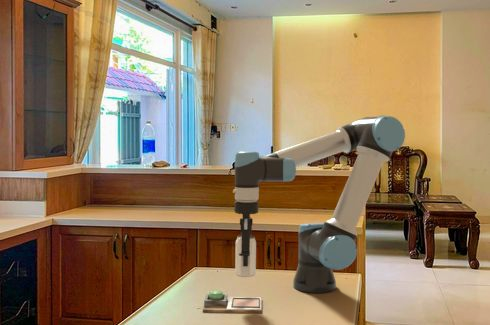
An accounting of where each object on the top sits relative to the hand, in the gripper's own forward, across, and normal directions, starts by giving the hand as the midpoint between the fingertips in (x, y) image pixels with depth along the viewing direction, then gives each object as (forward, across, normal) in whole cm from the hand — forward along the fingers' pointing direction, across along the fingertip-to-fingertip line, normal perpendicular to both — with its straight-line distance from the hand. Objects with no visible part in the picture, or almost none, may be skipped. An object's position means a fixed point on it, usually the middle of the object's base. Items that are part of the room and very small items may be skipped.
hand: (245, 273), depth 161 cm
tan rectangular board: (+11, 0, -4) cm, 11 cm away
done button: (+8, 0, -9) cm, 13 cm away
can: (+1, 0, 0) cm, 1 cm away
